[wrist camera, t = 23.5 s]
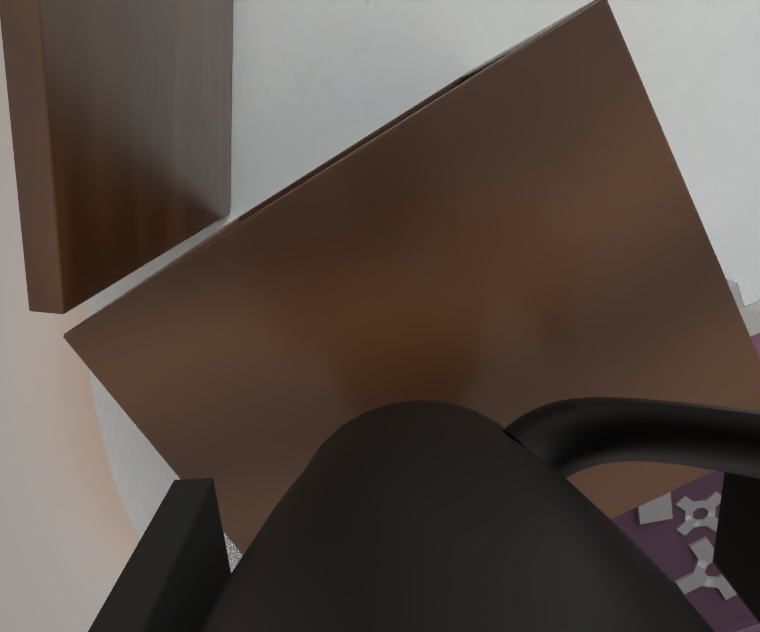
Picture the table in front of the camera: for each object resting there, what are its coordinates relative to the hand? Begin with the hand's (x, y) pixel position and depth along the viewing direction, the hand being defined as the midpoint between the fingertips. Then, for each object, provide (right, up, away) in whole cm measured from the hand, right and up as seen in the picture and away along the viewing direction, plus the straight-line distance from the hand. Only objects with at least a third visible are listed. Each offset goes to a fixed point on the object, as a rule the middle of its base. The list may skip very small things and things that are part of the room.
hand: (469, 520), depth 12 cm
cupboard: (0, +8, +25) cm, 26 cm away
